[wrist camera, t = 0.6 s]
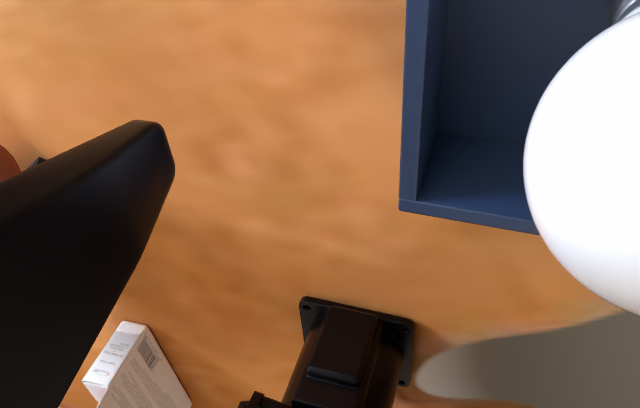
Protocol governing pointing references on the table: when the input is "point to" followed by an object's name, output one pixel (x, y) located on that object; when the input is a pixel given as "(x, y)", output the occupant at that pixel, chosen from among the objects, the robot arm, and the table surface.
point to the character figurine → (11, 164)
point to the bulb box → (481, 100)
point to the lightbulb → (592, 162)
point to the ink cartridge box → (134, 373)
